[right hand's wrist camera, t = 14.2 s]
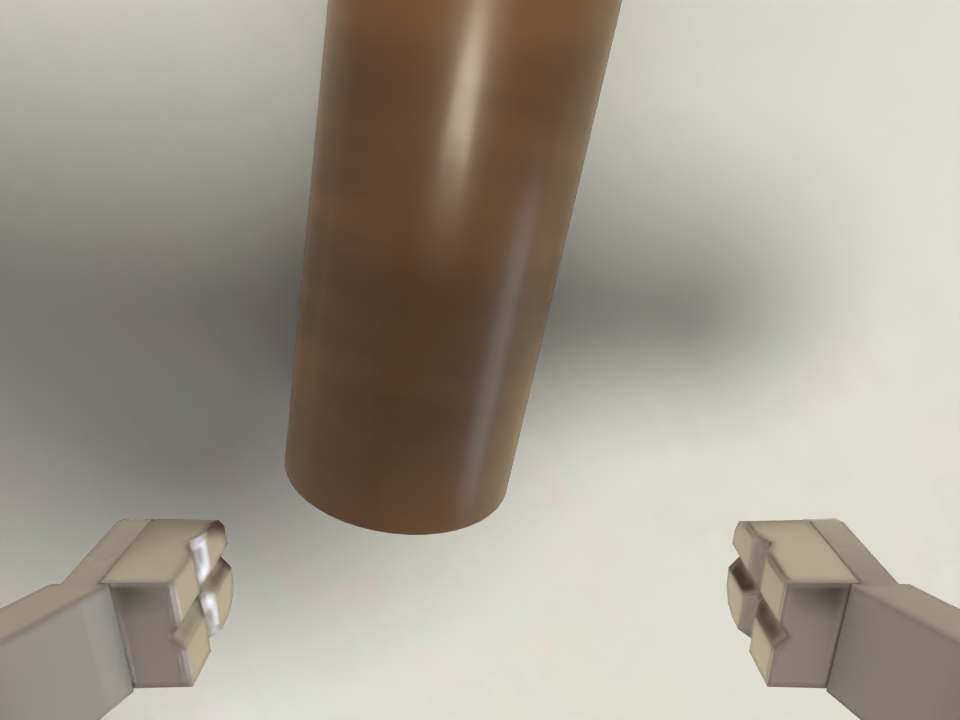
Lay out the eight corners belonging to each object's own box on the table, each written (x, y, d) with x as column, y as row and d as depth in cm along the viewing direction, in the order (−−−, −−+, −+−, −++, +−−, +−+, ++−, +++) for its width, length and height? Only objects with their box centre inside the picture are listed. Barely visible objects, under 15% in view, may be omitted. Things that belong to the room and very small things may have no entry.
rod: (508, 438, 21) (502, 557, 16) (322, 400, 21) (247, 506, 16) (727, -512, 13) (875, -970, 8) (432, -573, 13) (364, -1081, 8)
